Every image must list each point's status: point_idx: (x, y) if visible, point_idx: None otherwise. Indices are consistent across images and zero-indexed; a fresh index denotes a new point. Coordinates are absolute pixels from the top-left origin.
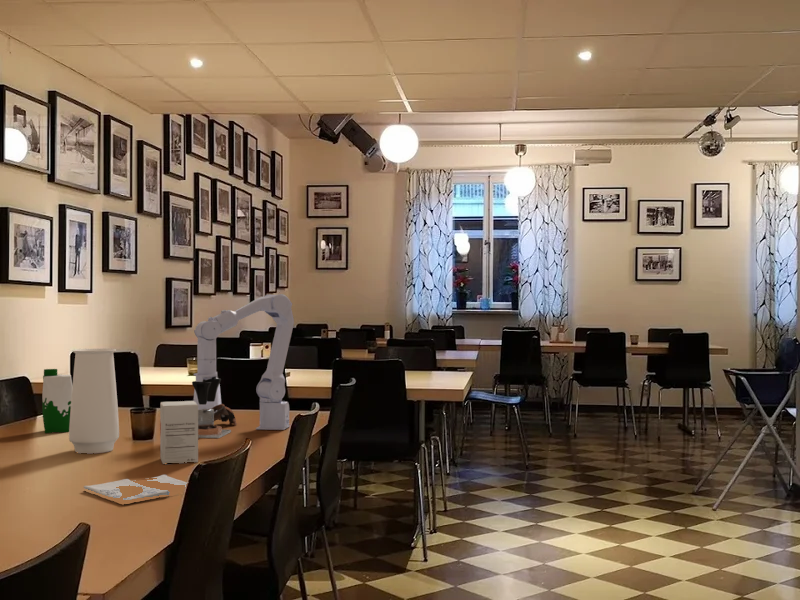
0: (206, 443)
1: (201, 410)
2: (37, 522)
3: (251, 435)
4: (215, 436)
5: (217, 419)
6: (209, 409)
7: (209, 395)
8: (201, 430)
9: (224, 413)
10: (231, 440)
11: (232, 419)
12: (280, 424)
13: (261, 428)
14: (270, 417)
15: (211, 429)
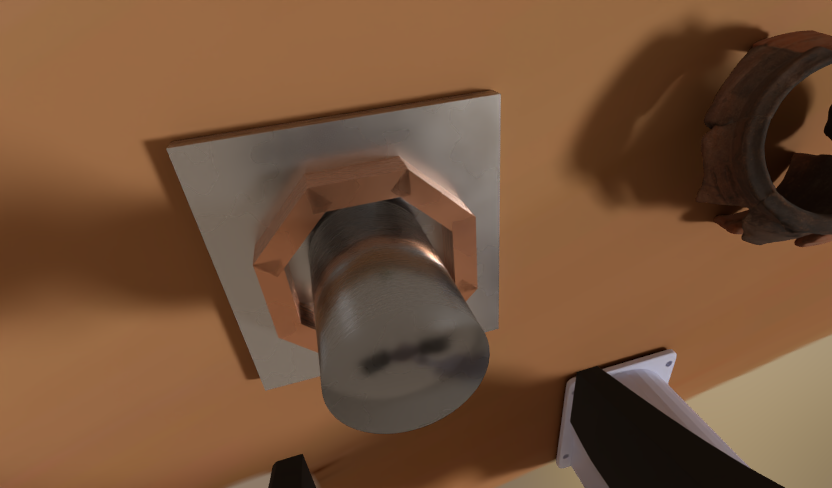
0: (47, 425)
1: (339, 377)
2: None
3: (405, 443)
4: (260, 370)
5: (703, 180)
6: (433, 392)
7: (626, 451)
8: (266, 297)
9: (754, 231)
10: (224, 459)
11: (796, 195)
12: (581, 468)
13: (566, 403)
14: (600, 476)
15: (308, 346)
